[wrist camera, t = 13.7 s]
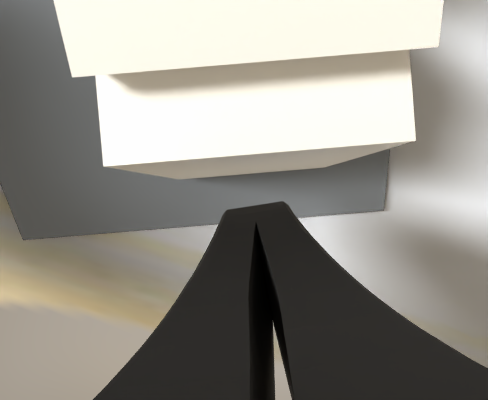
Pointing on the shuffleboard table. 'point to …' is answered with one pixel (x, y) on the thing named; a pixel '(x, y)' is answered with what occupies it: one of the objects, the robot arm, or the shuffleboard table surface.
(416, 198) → the shuffleboard table surface
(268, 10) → the domino
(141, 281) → the shuffleboard table surface
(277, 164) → the domino
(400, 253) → the shuffleboard table surface
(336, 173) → the slate mat
